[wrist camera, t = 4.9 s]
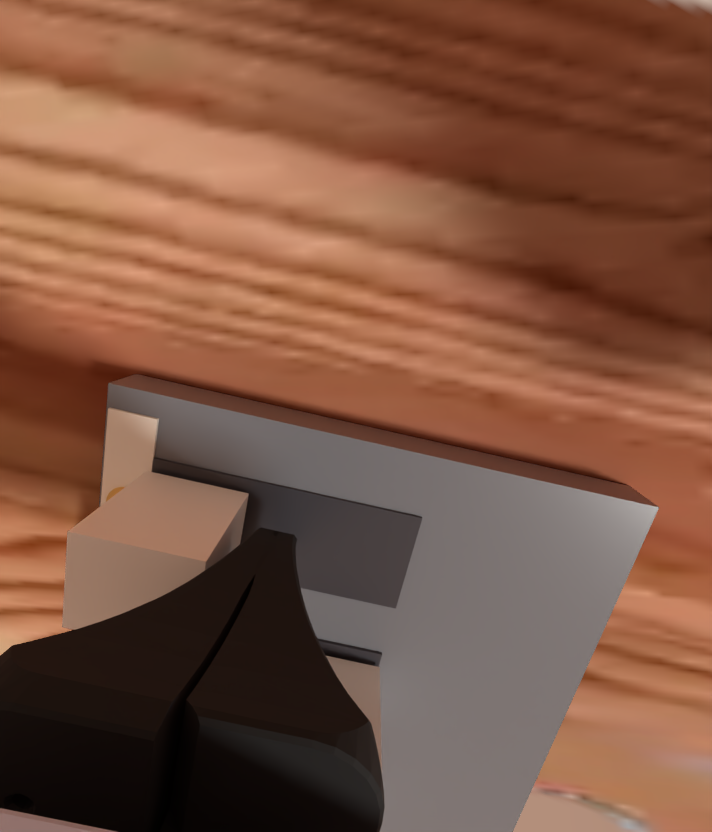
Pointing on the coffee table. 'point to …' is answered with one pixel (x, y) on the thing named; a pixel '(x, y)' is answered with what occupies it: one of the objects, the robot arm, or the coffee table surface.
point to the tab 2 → (362, 690)
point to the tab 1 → (147, 545)
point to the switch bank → (414, 577)
